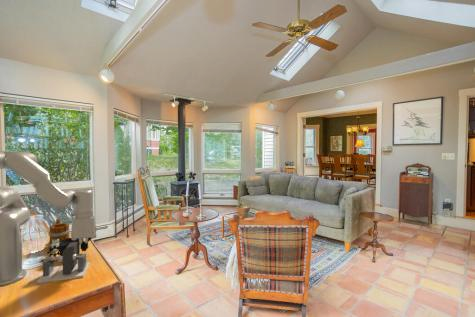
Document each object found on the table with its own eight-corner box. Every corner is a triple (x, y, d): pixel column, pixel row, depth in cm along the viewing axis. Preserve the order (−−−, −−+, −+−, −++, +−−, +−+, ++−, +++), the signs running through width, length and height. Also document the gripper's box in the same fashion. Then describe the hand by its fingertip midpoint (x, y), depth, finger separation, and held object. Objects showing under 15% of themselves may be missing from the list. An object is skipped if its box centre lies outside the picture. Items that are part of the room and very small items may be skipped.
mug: (49, 251, 137) (49, 226, 137) (46, 242, 149) (46, 219, 149) (71, 246, 145) (71, 222, 144) (67, 238, 157) (67, 216, 156)
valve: (48, 250, 139) (47, 258, 129) (48, 239, 138) (47, 247, 129) (62, 248, 142) (62, 255, 133) (62, 237, 142) (62, 244, 132)
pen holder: (78, 252, 137) (78, 236, 136) (81, 258, 130) (81, 240, 130) (57, 257, 130) (57, 240, 130) (60, 264, 123) (60, 245, 123)
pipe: (42, 276, 110) (42, 260, 110) (47, 271, 115) (47, 255, 114) (83, 271, 116) (83, 255, 115) (86, 266, 120) (86, 251, 120)
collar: (62, 274, 110) (62, 251, 110) (70, 263, 120) (70, 242, 120) (70, 273, 111) (70, 251, 111) (77, 262, 121) (77, 242, 121)
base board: (36, 283, 106) (36, 281, 106) (48, 269, 118) (48, 267, 118) (83, 277, 112) (83, 274, 112) (90, 264, 124) (90, 262, 124)
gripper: (63, 218, 112) (64, 255, 113) (99, 215, 117) (99, 251, 118) (69, 213, 119) (69, 249, 120) (102, 211, 124) (102, 245, 125)
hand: (84, 250), depth 119 cm, fingers closed
